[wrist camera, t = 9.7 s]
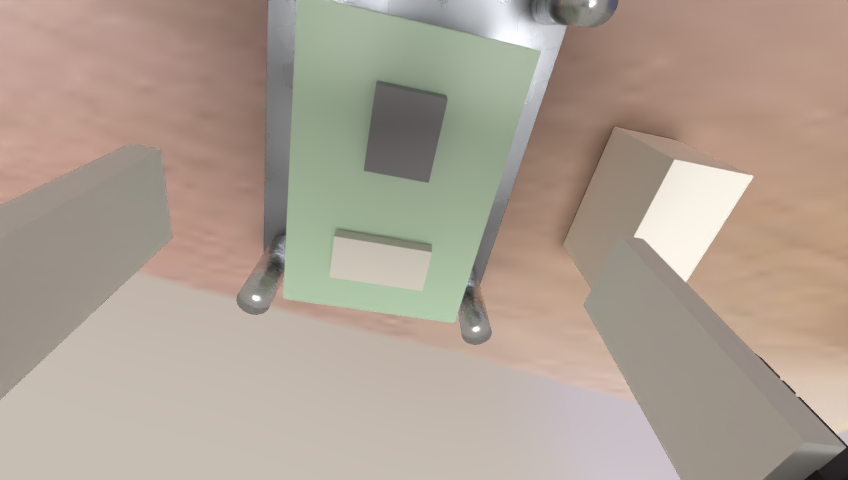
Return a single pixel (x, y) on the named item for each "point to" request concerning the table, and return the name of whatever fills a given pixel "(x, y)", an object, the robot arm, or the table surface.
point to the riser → (653, 202)
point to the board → (394, 157)
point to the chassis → (442, 6)
